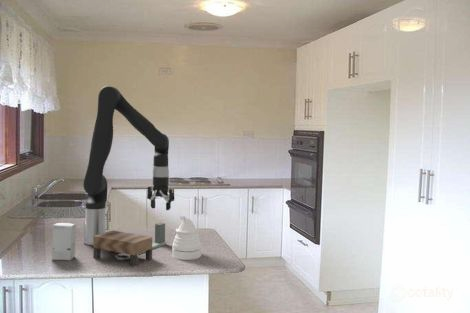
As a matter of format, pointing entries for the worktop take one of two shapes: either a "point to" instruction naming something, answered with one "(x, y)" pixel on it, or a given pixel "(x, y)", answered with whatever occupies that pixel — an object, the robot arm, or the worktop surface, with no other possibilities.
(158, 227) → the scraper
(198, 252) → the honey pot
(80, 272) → the worktop surface
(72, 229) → the skincare box
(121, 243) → the walnut table
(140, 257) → the worktop surface
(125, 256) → the disc
